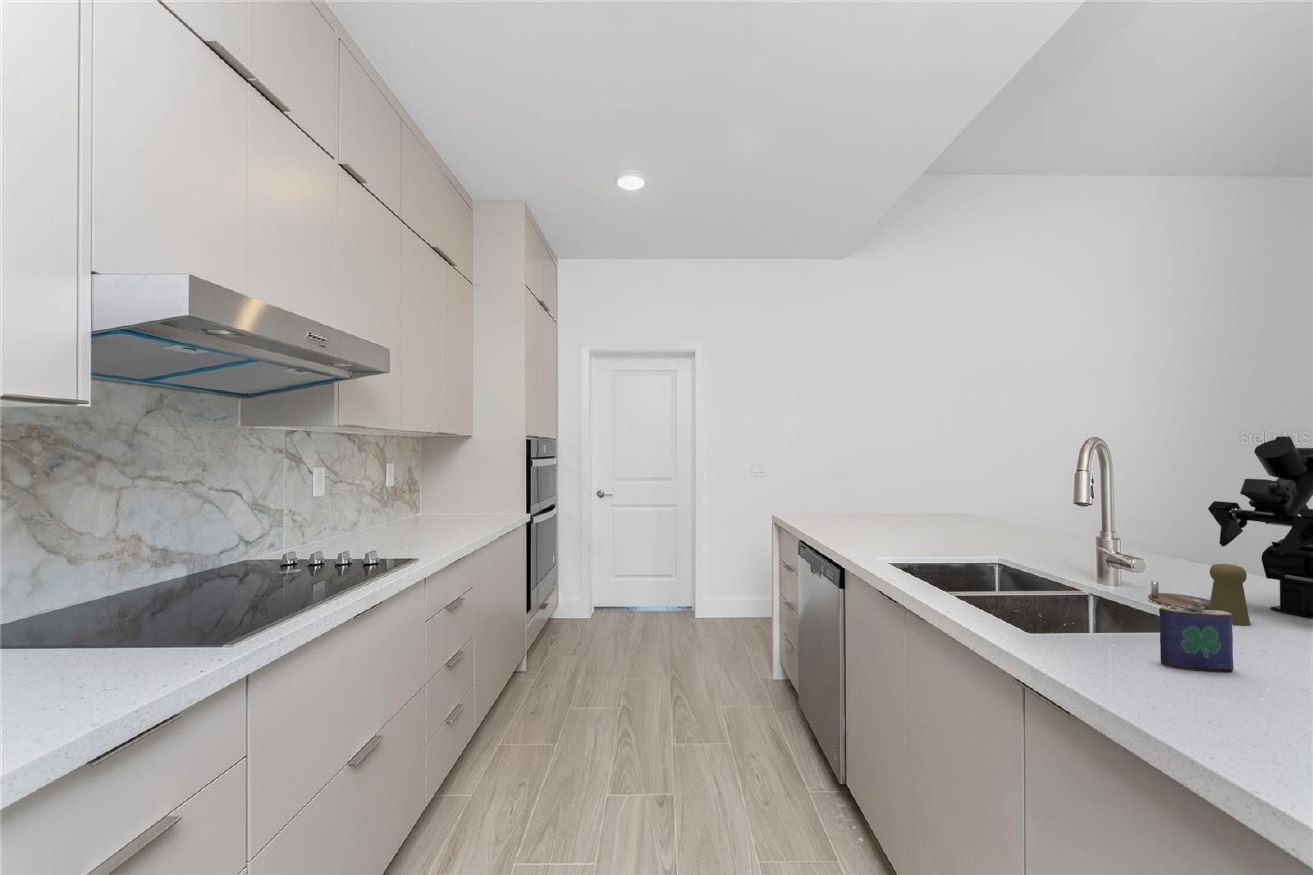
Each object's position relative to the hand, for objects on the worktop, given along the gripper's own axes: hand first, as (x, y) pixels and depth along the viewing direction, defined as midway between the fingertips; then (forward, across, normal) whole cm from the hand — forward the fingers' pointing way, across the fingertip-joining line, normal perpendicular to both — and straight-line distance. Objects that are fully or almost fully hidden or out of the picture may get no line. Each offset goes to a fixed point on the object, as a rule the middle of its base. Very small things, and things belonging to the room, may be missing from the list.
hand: (1249, 548), depth 115 cm
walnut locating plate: (+10, -11, +9) cm, 18 cm away
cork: (+14, 0, +6) cm, 15 cm away
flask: (+38, +16, -15) cm, 43 cm away
